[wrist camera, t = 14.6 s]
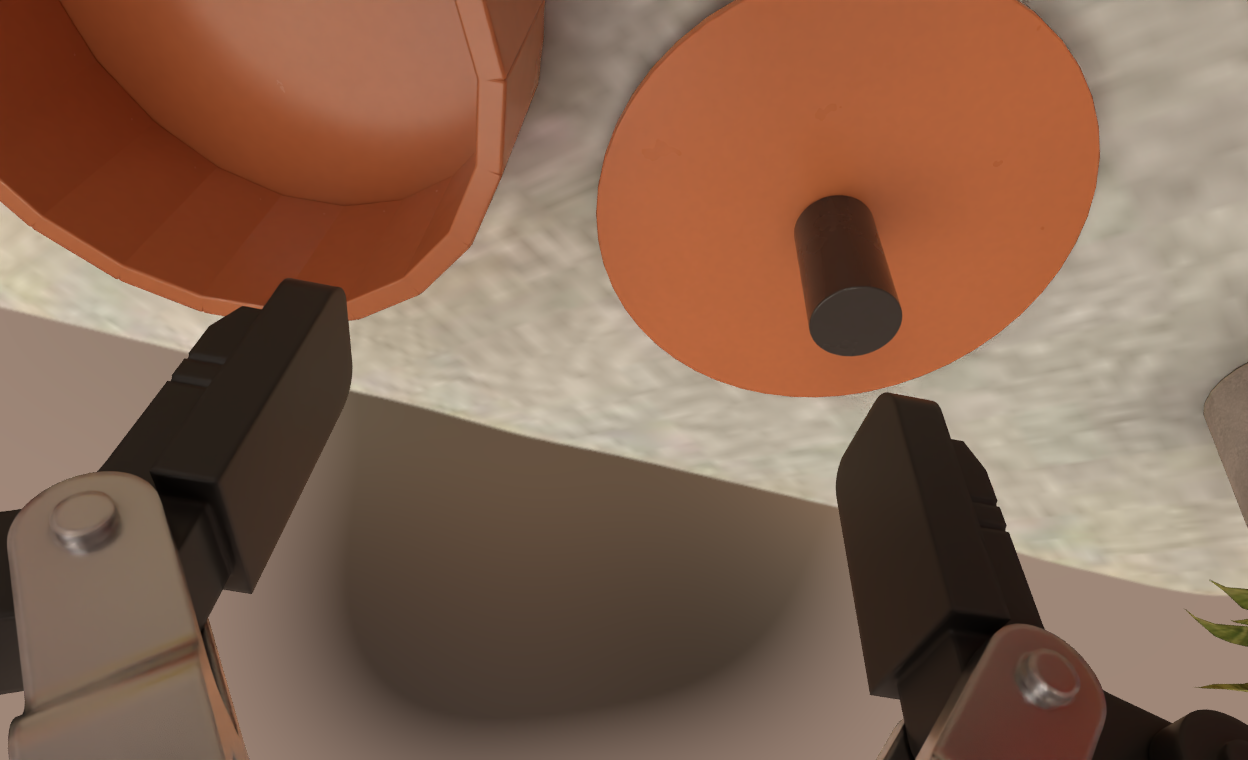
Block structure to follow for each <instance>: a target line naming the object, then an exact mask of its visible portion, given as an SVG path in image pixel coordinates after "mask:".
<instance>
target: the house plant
mask: <svg viewBox="0 0 1248 760" xmlns="http://www.w3.org/2000/svg"><path fill="white" fill-rule="evenodd" d="M1204 417H1205V420H1206V422H1207V425H1208V427H1209V430H1210V433H1211V435H1212V438H1213V440H1214V443H1215V445H1216V448H1217V450H1218V453H1219V456H1220V458H1221V461H1222V463H1223V466H1224V468H1225V471H1226V474H1227V476H1228V479H1229V481H1230V484H1231V486H1232V489H1233V492H1234V494H1235V497H1236V499H1237V502H1238V504H1239V507H1240V509H1241V512H1242V515H1243V517H1244V520H1245V522H1246V525H1247V527H1248V363H1247V364H1245V365H1243V366H1241V367H1240V368H1238V369H1236V370H1235V371H1233V372H1232V373H1231V374H1229V375H1228V376H1227V377H1225V378H1224V379H1223V380H1221V381H1220V382H1219V384H1218V385H1217V386H1216V387H1215V388H1214V389H1213V390H1212V391H1211V392H1210V394H1209V396H1208V398H1207V400H1206V402H1205V404H1204ZM1210 581H1211V580H1210ZM1211 582H1213V581H1211ZM1213 583H1214V584H1215V585H1217V586H1218V587H1219V588H1221V589H1222V590H1223V591H1224V592H1226V593H1227V594H1228V595H1229V596H1230V597H1231V598H1232V599H1233V600H1234V601H1235V602H1236V603H1237V604H1238V605H1240V607H1242V608H1243V609H1247V610H1248V589H1241V588H1229V587H1225V586H1222V585H1220V584H1218V583H1216V582H1213ZM1188 613H1189V614H1190V615H1191V616H1192V617H1193V618H1194V619H1195V620H1197V621H1198V622H1199V623H1200V624H1201V625H1203V626H1204V627H1205V628H1206V629H1207V630H1208V631H1209V632H1210V633H1212V634H1213V635H1214V636H1216V637H1218V638H1221V639H1223V640H1225V641H1228V642H1230V643H1234V644H1238V645H1242V646H1248V627H1247V626H1234V625H1222V624H1214V623H1211V622H1208V621H1205V620H1202V619H1199V618H1197V617H1195V616H1194V615H1192V614H1191V613H1190V612H1188ZM1233 622H1236V623H1241V624H1246V625H1248V619H1244V620H1238V621H1233ZM1199 688H1209V689H1211V688H1212V689H1227V690H1237V691H1245V692H1248V683H1245V684H1213V685H1209V686H1203V687H1199Z"/></svg>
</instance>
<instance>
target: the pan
mask: <svg viewBox="0 0 1248 760" xmlns="http://www.w3.org/2000/svg"><path fill="white" fill-rule="evenodd" d="M544 11H545V0H0V201H1V202H2V203H3V204H4V205H5V206H6V207H8V208H9V209H10V210H11V211H12V212H13V213H15V214H16V215H17V216H18V217H19V218H20V219H22V220H23V221H24V222H25V223H26V224H27V225H29V226H31V227H32V228H33V229H34V230H36V231H38V232H39V233H41V234H43V235H44V236H46V237H48V238H49V239H51V240H52V241H54V242H56V243H57V244H59V245H61V246H62V247H64V248H66V249H67V250H69V251H71V252H72V253H74V254H76V255H77V256H79V257H81V258H82V259H84V260H86V261H87V262H89V263H91V264H92V265H94V266H96V267H97V268H99V269H101V270H102V271H104V272H106V273H107V274H109V275H111V276H112V277H114V278H116V279H120V280H121V281H123V282H125V283H128V284H130V285H133V286H136V287H138V288H141V289H143V290H146V291H149V292H151V293H154V294H156V295H159V296H162V297H164V298H167V299H169V300H172V301H175V302H177V303H180V304H183V305H185V306H188V307H190V308H193V309H196V310H198V311H204V312H205V313H209V314H216V315H222V316H227V315H228V314H230V313H231V312H233V311H235V310H236V309H238V308H239V307H241V306H246V307H252V308H257V309H262V308H263V307H264V305H265V304H266V303H267V301H268V300H269V298H270V297H271V295H272V294H273V293H274V291H275V290H276V288H277V287H278V285H279V284H280V283H281V282H282V281H283V280H284V279H286V278H294V279H299V280H304V281H310V282H315V283H320V284H325V285H331V286H336V287H341V288H342V289H343V290H344V292H345V295H346V301H347V312H348V321H349V320H356V319H357V320H359V319H361V318H364V317H366V316H369V315H371V314H373V313H376V312H378V311H381V310H383V309H386V308H388V307H391V306H393V305H395V304H398V303H400V302H403V301H405V300H408V299H410V298H412V297H415V296H417V295H420V293H422V292H424V291H425V290H426V289H427V288H428V287H429V286H430V285H431V284H432V283H433V282H434V281H435V280H436V279H437V278H438V277H439V276H440V275H441V274H442V273H444V272H445V271H446V270H447V269H448V268H449V267H450V266H451V265H452V264H453V263H454V262H455V261H456V260H457V259H458V258H459V257H460V256H461V255H462V254H463V253H465V252H466V251H467V250H468V249H469V248H470V246H471V245H472V244H473V241H474V239H475V237H476V234H477V232H478V230H479V228H480V225H481V223H482V221H483V218H484V216H485V214H486V212H487V209H488V207H489V205H490V202H491V200H492V198H493V196H494V193H495V191H496V189H497V186H498V184H499V182H500V180H501V177H502V175H503V172H504V170H505V167H506V165H507V162H508V159H509V157H510V154H511V152H512V149H513V147H514V144H515V142H516V139H517V137H518V134H519V131H520V129H521V126H522V124H523V121H524V119H525V116H526V114H527V111H528V108H529V106H530V103H531V101H532V98H533V96H534V93H535V91H536V88H537V86H538V81H539V75H540V62H541V54H542V47H543V40H544Z"/></svg>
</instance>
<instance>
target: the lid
mask: <svg viewBox="0 0 1248 760" xmlns="http://www.w3.org/2000/svg"><path fill="white" fill-rule="evenodd" d="M1099 159H1100V149H1099V126H1098V121H1097V116H1096V112H1095V107H1094V102H1093V98H1092V95H1091V92H1090V90H1089V87H1088V85H1087V83H1086V80H1085V78H1084V76H1083V73H1082V71H1081V68H1080V66H1079V65H1078V63H1077V62H1076V60H1075V59H1074V57H1073V56H1072V54H1071V53H1070V51H1069V50H1068V48H1067V47H1066V45H1065V44H1064V42H1063V41H1062V40H1061V39H1060V38H1059V37H1058V35H1057V34H1056V33H1055V32H1054V31H1053V30H1052V29H1051V28H1050V27H1049V26H1048V25H1047V24H1046V23H1045V22H1044V21H1043V20H1042V19H1041V18H1040V17H1039V16H1038V15H1037V14H1036V13H1035V12H1034V11H1033V10H1031V9H1030V8H1028V7H1027V6H1026V5H1024V4H1023V3H1021V2H1020V1H1018V0H734V1H733V2H731V3H729V4H728V5H726V6H725V7H723V8H721V9H720V10H718V11H716V12H715V13H713V14H711V15H710V16H708V17H707V18H706V19H704V20H703V21H702V22H701V23H699V24H698V25H697V26H696V27H694V28H693V29H692V30H691V31H689V32H688V33H687V34H686V35H684V36H683V37H682V38H681V39H679V40H678V41H677V42H676V43H675V44H674V45H673V46H672V47H671V48H670V49H669V50H668V51H667V53H666V54H665V55H664V56H663V57H662V58H661V59H660V60H659V61H658V62H657V63H656V64H655V65H654V66H653V67H652V68H651V70H650V71H649V73H648V74H647V75H646V77H645V78H644V79H643V81H642V82H641V83H640V85H639V86H638V87H637V89H636V90H635V92H634V93H633V94H632V96H631V98H630V100H629V101H628V103H627V105H626V107H625V109H624V111H623V112H622V114H621V116H620V118H619V120H618V122H617V124H616V126H615V129H614V131H613V134H612V137H611V139H610V142H609V145H608V147H607V150H606V153H605V157H604V162H603V166H602V171H601V175H600V180H599V185H598V196H597V210H596V217H597V230H598V241H599V245H600V250H601V254H602V258H603V263H604V266H605V269H606V271H607V274H608V276H609V279H610V281H611V284H612V287H613V288H614V290H615V292H616V294H617V295H618V297H619V299H620V301H621V303H622V304H623V306H624V308H625V309H626V311H627V312H628V313H629V315H630V316H631V317H632V318H633V320H634V321H635V322H636V324H637V325H638V326H639V327H640V328H641V329H642V330H643V331H644V332H645V333H646V334H647V335H648V336H649V337H650V338H651V339H652V340H653V341H654V342H655V343H656V344H657V345H658V346H659V347H661V348H662V349H663V350H665V351H666V352H667V353H668V354H670V355H671V356H672V357H674V358H675V359H677V360H678V361H680V362H682V363H683V364H685V365H687V366H688V367H690V368H692V369H693V370H695V371H697V372H700V373H702V374H704V375H706V376H708V377H711V378H713V379H715V380H717V381H720V382H723V383H726V384H729V385H732V386H736V387H739V388H742V389H747V390H751V391H756V392H760V393H765V394H773V395H782V396H790V397H827V396H842V395H849V394H855V393H862V392H868V391H873V390H877V389H881V388H885V387H889V386H893V385H897V384H900V383H903V382H905V381H908V380H911V379H914V378H917V377H920V376H923V375H925V374H927V373H930V372H932V371H934V370H936V369H939V368H941V367H943V366H946V365H948V364H950V363H952V362H953V361H955V360H957V359H959V358H961V357H962V356H964V355H966V354H968V353H970V352H971V351H973V350H975V349H976V348H978V347H979V346H981V345H982V344H983V343H985V342H986V341H988V340H989V339H991V338H992V337H994V336H995V335H997V334H998V333H999V332H1000V331H1002V330H1003V329H1004V328H1005V327H1006V326H1008V325H1009V324H1010V323H1011V322H1012V321H1014V320H1015V319H1016V318H1017V317H1018V316H1020V315H1021V314H1022V313H1023V312H1024V311H1025V310H1026V309H1027V308H1028V307H1029V305H1030V304H1031V303H1032V302H1033V301H1034V300H1035V299H1036V298H1037V297H1038V296H1039V295H1040V294H1041V293H1042V292H1043V291H1044V289H1045V288H1046V287H1047V285H1048V284H1049V283H1050V282H1051V280H1052V279H1053V278H1054V276H1055V275H1056V274H1057V273H1058V271H1059V270H1060V268H1061V267H1062V265H1063V264H1064V262H1065V260H1066V259H1067V257H1068V255H1069V254H1070V252H1071V250H1072V249H1073V247H1074V245H1075V244H1076V241H1077V239H1078V237H1079V235H1080V232H1081V230H1082V228H1083V226H1084V223H1085V221H1086V219H1087V217H1088V213H1089V210H1090V206H1091V203H1092V199H1093V196H1094V192H1095V189H1096V182H1097V175H1098V167H1099Z"/></svg>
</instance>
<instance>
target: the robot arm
mask: <svg viewBox="0 0 1248 760" xmlns="http://www.w3.org/2000/svg"><path fill="white" fill-rule="evenodd" d="M351 379H352V355H351V344H350V334H349V323H348V312H347V301H346V295H345V292H344V290H343V289H342V288H341V287H336V286H331V285H325V284H320V283H315V282H310V281H304V280H299V279H294V278H286V279H284V280H283V281H282V282H281V283H280V284H279V285H278V287H277V288H276V290H275V291H274V293H273V294H272V295H271V297H270V298H269V300H268V301H267V303H266V304H265V305H264V307H263V308H262V309H257V308H252V307H246V306H241V307H239V308H238V309H236V310H235V311H233V312H231V313H230V314H228V315H227V316H225V317H223V318H222V319H220V320H219V321H217V322H215V323H214V324H212V325H210V326H209V327H208V329H207V330H206V331H205V332H204V334H203V335H202V336H201V338H200V339H199V340H198V342H197V343H196V344H195V346H194V347H193V348H192V350H191V351H190V352H189V357H188V359H184V360H183V361H182V363H181V364H180V365H179V367H178V368H177V369H176V370H175V372H174V373H173V374H172V379H171V381H167V382H166V384H165V385H164V386H163V388H162V389H161V390H160V392H159V393H158V394H157V395H156V397H155V398H154V399H153V401H152V402H151V403H150V405H149V406H148V407H147V409H146V410H145V411H144V412H143V414H142V415H141V416H140V418H139V419H138V420H137V422H136V423H135V424H134V426H133V427H132V428H131V430H130V431H129V432H128V433H127V435H126V436H125V437H124V439H123V440H122V441H121V443H120V444H119V445H118V446H117V448H116V449H115V450H114V452H113V453H112V454H111V456H110V457H109V458H108V460H107V461H106V462H105V463H104V465H103V466H102V467H101V468H100V469H99V470H98V471H97V472H93V473H88V474H83V475H79V476H75V477H72V478H69V479H66V480H64V481H62V482H59V483H57V484H55V485H53V486H51V487H49V488H48V489H46V490H44V491H43V492H41V493H40V494H38V495H37V496H36V497H34V498H33V499H32V500H31V501H30V502H29V503H27V504H26V505H25V506H24V507H23V508H22V509H18V510H12V511H5V512H0V695H1V694H6V693H13V692H19V691H24V696H25V708H24V712H23V714H22V715H20V716H18V717H15V718H14V719H13V721H12V722H11V724H10V729H9V736H8V754H9V760H249V757H248V753H247V750H246V747H245V744H244V741H243V737H242V734H241V730H240V727H239V723H238V720H237V716H236V713H235V709H234V706H233V702H232V699H231V695H230V692H229V688H228V685H227V682H226V678H225V674H224V671H223V667H222V664H221V661H220V657H219V654H218V650H217V646H216V643H215V640H214V636H213V633H212V629H211V626H210V622H209V619H208V617H209V614H210V613H211V611H212V609H213V607H214V605H215V603H216V601H217V599H218V598H219V596H220V594H221V592H222V590H223V589H224V590H230V591H236V592H242V593H249V594H252V592H253V590H254V588H255V586H256V584H257V582H258V580H259V578H260V576H261V574H262V572H263V570H264V568H265V566H266V564H267V562H268V560H269V558H270V556H271V554H272V552H273V550H274V548H275V546H276V544H277V542H278V540H279V538H280V535H281V534H282V532H283V529H284V527H285V525H286V523H287V521H288V519H289V517H290V515H291V513H292V511H293V509H294V507H295V505H296V503H297V501H298V499H299V497H300V495H301V493H302V491H303V489H304V487H305V485H306V483H307V481H308V479H309V477H310V474H311V473H312V471H313V468H314V466H315V464H316V462H317V460H318V458H319V456H320V454H321V452H322V450H323V448H324V446H325V444H326V442H327V440H328V438H329V436H330V434H331V432H332V430H333V428H334V426H335V424H336V422H337V420H338V418H339V416H340V413H341V411H342V409H343V407H344V405H345V403H346V400H347V397H348V394H349V390H350V385H351ZM836 496H837V503H838V508H839V514H840V520H841V526H842V532H843V538H844V544H845V549H846V556H847V561H848V567H849V573H850V579H851V585H852V591H853V597H854V602H855V609H856V614H857V620H858V626H859V632H860V638H861V644H862V650H863V656H864V662H865V667H866V673H867V679H868V685H869V691H870V695H874V696H880V697H887V698H893V699H900V702H901V707H902V712H903V717H904V718H903V719H902V720H901V721H900V722H899V723H898V724H897V725H896V727H895V728H894V729H893V731H892V733H891V735H890V736H889V738H888V740H887V741H886V743H885V745H884V746H883V748H882V750H881V752H880V753H879V755H878V757H877V758H876V760H1248V725H1246V724H1245V723H1243V722H1241V721H1240V720H1238V719H1236V718H1234V717H1232V716H1229V715H1227V714H1224V713H1221V712H1218V711H1213V710H1197V711H1194V712H1191V713H1189V714H1188V715H1186V716H1184V717H1182V718H1180V719H1179V720H1177V721H1175V722H1174V723H1170V722H1168V721H1166V720H1164V719H1162V718H1160V717H1158V716H1155V715H1154V714H1152V713H1149V712H1147V711H1145V710H1143V709H1141V708H1139V707H1137V706H1134V705H1132V704H1130V703H1128V702H1126V701H1124V700H1121V699H1120V698H1117V697H1115V696H1113V695H1111V694H1109V693H1108V692H1106V691H1104V690H1103V689H1102V687H1101V684H1100V683H1099V680H1098V679H1097V677H1096V675H1095V673H1094V672H1093V670H1092V669H1091V667H1090V666H1089V665H1088V664H1087V662H1086V661H1085V660H1084V659H1083V657H1082V656H1081V655H1080V654H1079V653H1078V652H1077V651H1076V650H1075V649H1074V648H1073V647H1071V646H1070V645H1069V644H1067V643H1066V642H1065V641H1064V640H1062V639H1061V638H1059V637H1058V636H1056V635H1054V634H1052V633H1051V632H1048V631H1046V630H1045V629H1044V627H1043V624H1042V621H1041V619H1040V616H1039V613H1038V610H1037V608H1036V605H1035V602H1034V600H1033V597H1032V594H1031V591H1030V589H1029V586H1028V583H1027V580H1026V578H1025V575H1024V572H1023V570H1022V567H1021V564H1020V561H1019V559H1018V556H1017V553H1016V550H1015V548H1014V545H1013V542H1012V539H1011V537H1010V534H1009V532H1006V531H1005V528H1006V523H1005V520H1004V518H1003V515H1002V512H1001V509H1000V507H997V506H996V503H997V499H996V496H995V493H994V490H993V488H992V485H991V482H990V479H989V477H988V474H987V471H986V470H985V468H984V467H983V466H982V464H981V463H980V462H979V461H978V459H977V458H976V457H975V456H974V454H973V453H972V452H971V450H970V449H969V448H968V447H967V445H966V444H965V443H964V442H963V441H959V440H953V439H951V438H950V435H949V432H948V429H947V426H946V423H945V420H944V417H943V414H942V411H941V408H940V407H939V405H938V404H937V403H936V402H934V401H930V400H925V399H920V398H914V397H909V396H904V395H898V394H893V393H888V392H886V393H883V394H881V395H880V396H879V397H878V398H877V399H876V401H875V403H874V404H873V406H872V408H871V409H870V411H869V413H868V414H867V416H866V418H865V419H864V421H863V423H862V424H861V426H860V428H859V429H858V431H857V433H856V435H855V436H854V438H853V440H852V441H851V443H850V445H849V446H848V448H847V450H846V451H845V453H844V455H843V457H842V459H841V462H840V465H839V468H838V472H837V479H836Z"/></svg>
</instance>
